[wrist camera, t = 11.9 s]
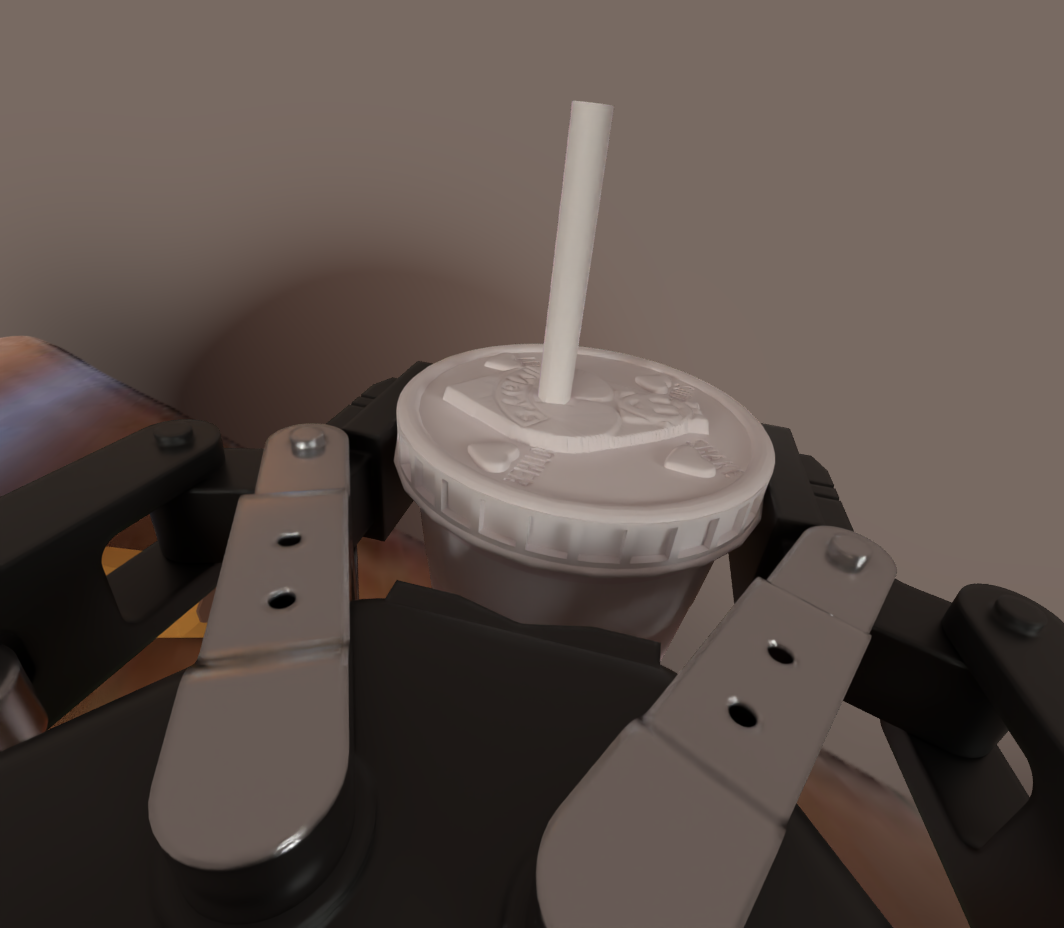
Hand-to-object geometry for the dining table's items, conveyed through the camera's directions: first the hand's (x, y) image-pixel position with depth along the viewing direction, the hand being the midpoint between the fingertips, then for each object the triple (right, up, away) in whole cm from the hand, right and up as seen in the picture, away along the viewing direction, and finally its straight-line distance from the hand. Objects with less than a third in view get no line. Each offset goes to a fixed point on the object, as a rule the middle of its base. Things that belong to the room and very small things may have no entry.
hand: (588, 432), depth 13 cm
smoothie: (-1, -8, +2) cm, 9 cm away
